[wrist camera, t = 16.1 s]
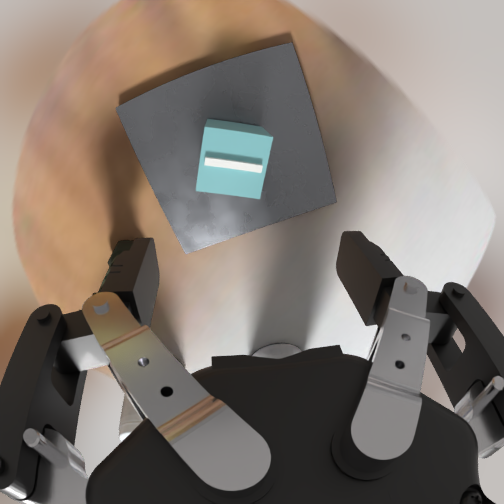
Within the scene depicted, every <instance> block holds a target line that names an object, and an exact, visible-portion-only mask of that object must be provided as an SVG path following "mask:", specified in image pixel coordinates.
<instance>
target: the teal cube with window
mask: <svg viewBox="0 0 504 504" xmlns="http://www.w3.org/2000/svg"><path fill="white" fill-rule="evenodd" d="M272 141H273V137H272V136H271V135H270V134H269V133H268V132H267V131H266V130H265V129H264V128H263V127H260V126H254V125H248V124H242V123H236V122H229V121H222V120H214V119H207V121H206V124H205V128H204V134H203V141H202V148H201V155H200V162H199V169H198V176H197V184H196V191H200V192H208V193H217V194H225V195H233V196H240V197H248V198H255V199H260V196H261V191H262V187H263V182H264V178H265V173H266V168H267V164H268V159H269V154H270V150H271V145H272Z"/></svg>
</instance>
